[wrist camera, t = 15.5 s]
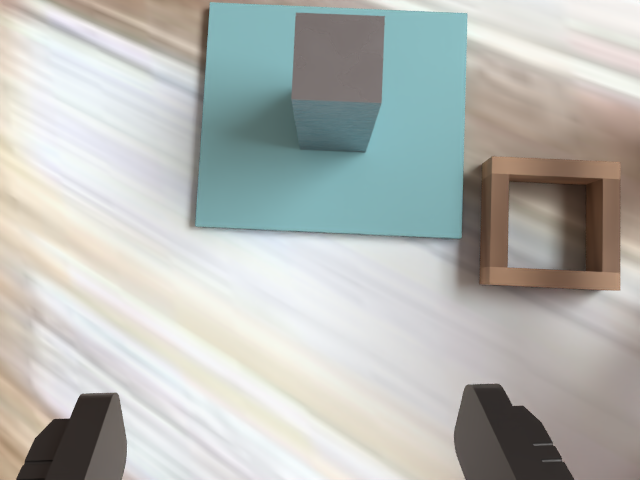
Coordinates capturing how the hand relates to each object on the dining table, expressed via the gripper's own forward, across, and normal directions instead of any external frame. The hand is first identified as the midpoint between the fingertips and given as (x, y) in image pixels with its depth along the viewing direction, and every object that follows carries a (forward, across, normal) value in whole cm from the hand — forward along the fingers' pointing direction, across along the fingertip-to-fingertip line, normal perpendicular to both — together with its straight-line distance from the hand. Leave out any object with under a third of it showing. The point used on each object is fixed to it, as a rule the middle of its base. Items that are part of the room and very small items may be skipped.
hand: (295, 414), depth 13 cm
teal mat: (+24, -4, 0) cm, 24 cm away
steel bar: (+23, -4, 0) cm, 23 cm away
